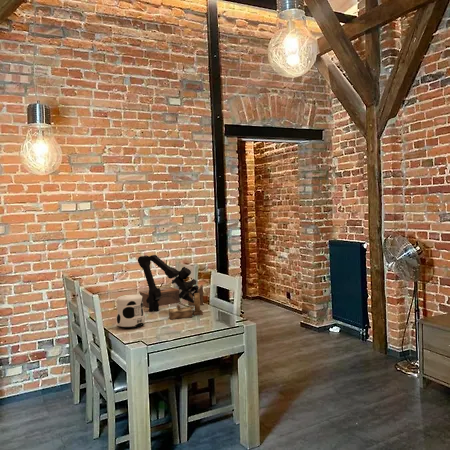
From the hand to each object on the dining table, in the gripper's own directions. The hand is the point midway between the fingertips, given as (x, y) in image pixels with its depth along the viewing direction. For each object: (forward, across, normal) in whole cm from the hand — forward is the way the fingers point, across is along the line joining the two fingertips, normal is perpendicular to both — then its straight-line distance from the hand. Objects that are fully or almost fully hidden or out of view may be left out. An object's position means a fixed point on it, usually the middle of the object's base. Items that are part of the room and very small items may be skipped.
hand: (197, 301), depth 296 cm
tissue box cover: (-24, +21, +37) cm, 49 cm away
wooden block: (-4, +23, +16) cm, 29 cm away
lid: (-1, -9, +7) cm, 12 cm away
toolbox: (+3, -7, +10) cm, 12 cm away
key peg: (+6, 0, +6) cm, 9 cm away
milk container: (-12, -37, +25) cm, 46 cm away
